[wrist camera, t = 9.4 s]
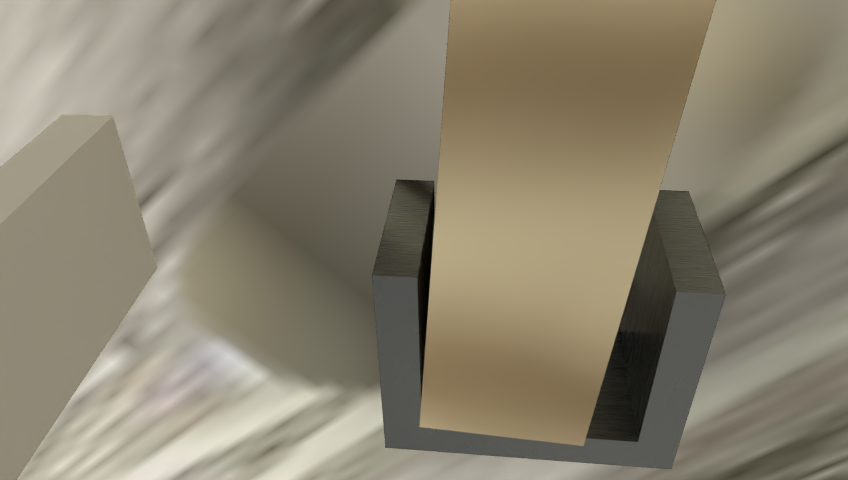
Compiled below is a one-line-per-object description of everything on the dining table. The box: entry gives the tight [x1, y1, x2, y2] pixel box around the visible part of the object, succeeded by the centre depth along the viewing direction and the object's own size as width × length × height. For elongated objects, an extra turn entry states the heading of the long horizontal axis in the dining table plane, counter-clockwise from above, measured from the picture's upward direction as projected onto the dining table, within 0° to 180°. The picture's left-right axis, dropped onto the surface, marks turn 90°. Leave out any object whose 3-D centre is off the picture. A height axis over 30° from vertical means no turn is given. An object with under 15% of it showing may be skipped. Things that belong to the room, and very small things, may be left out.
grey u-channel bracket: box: [372, 180, 726, 469], centre depth 19 cm, size 6×8×4 cm
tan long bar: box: [419, 0, 716, 446], centre depth 14 cm, size 18×4×5 cm, turn 177°
